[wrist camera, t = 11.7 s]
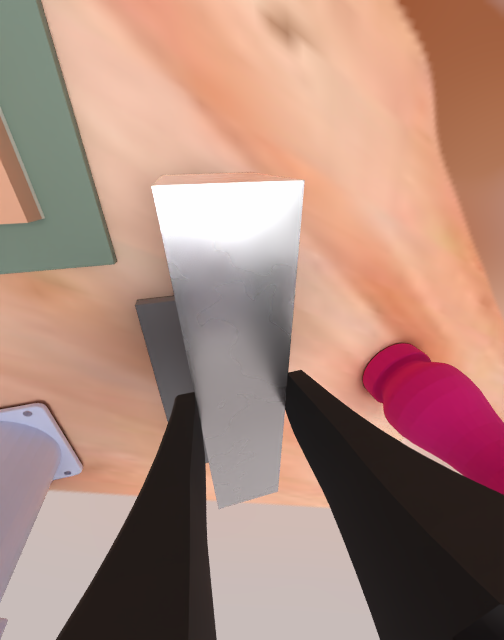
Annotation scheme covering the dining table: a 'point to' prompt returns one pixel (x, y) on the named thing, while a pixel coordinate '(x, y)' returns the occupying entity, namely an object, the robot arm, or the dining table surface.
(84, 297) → the dining table surface
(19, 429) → the robot arm
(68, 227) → the mat
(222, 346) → the bar
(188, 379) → the board
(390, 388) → the pepper mill
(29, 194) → the tile
